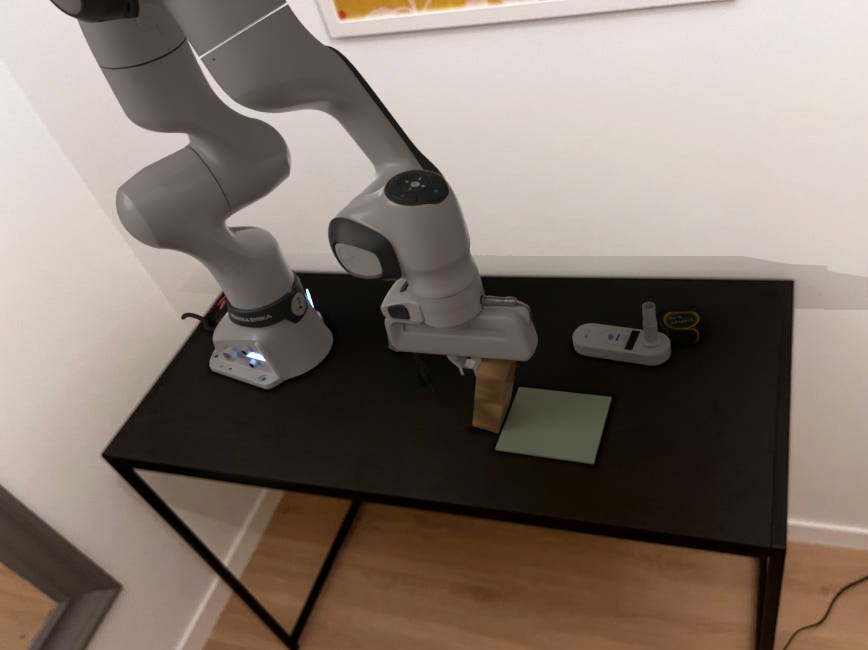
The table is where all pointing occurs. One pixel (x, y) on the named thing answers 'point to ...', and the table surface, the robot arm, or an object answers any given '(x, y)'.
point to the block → (493, 393)
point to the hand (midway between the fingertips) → (472, 372)
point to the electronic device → (625, 341)
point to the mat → (555, 425)
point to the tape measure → (682, 324)
